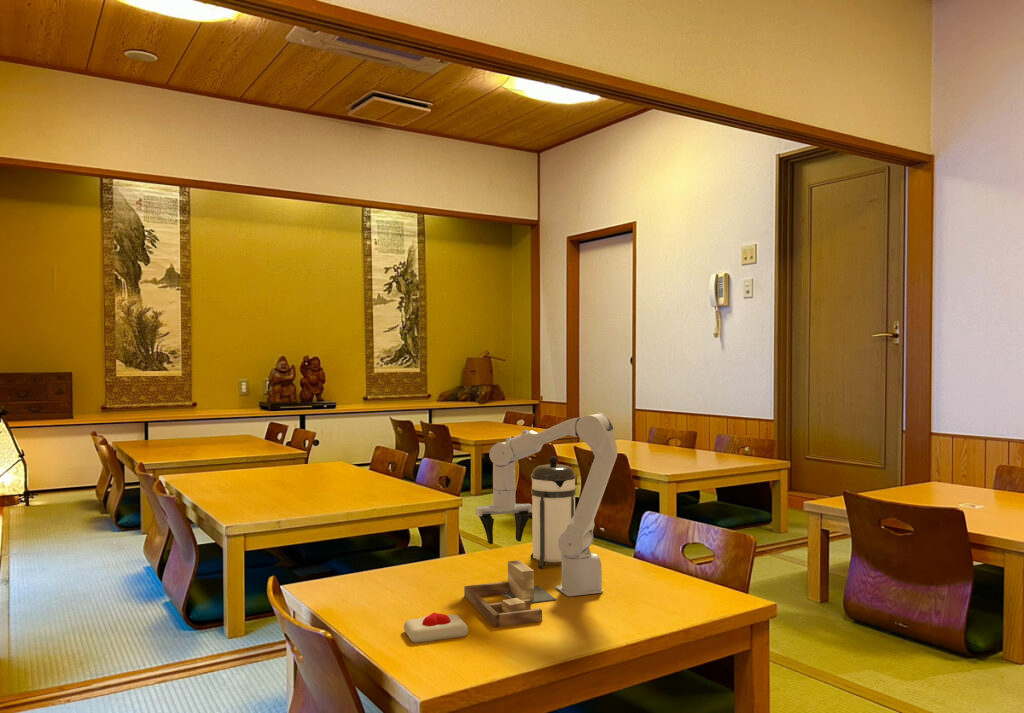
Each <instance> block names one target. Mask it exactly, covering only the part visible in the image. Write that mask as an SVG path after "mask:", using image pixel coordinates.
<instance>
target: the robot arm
mask: <svg viewBox="0 0 1024 713" xmlns="http://www.w3.org/2000/svg"><path fill="white" fill-rule="evenodd" d="M567 436H570V437H574V438H576V437H577V438H578V437H579V438H580V439H581V440H582V441H583V442H585V444H586V445H588V447H589V448H590V450H591V452H592V454H593V455H594V459H593V462H592V464H591V467H590V469H589V472H588V475H587V478H586V481H585V484H584V486H583V489H582V492H581V495H580V496H579V501H578V502H577V505H576V507H575V514H574V516H573V518H572V519H571V521H570V522H569V524H568V526H567V529H566V531H565V532H564V533H563V534H561V536H560V537H559V541H558V546H559V549H560V551H561V552H562V562H561V584H560V585H556V586H555V589H556V590H558V591H560V592H561V593H562V594H564V595H565V596H567V597H577V596H578V597H579V596H585V595H593V594H602V593H603V592H604V590H603V587H602V586H603V585H602V583H603V581H602V578H603V577H602V576H603V575H602V571H603V570H602V561H601V558H600V556H599V555H598V554H597V553H593V552H592V551H591V550H590V547H591V546H592V544H593V542H594V528H595V517H596V516H597V512H598V510H599V507H600V505H601V502H602V499H603V497H604V493H605V491H606V487H607V485H608V483H609V480H610V476H611V473H612V471H613V468H614V466H615V463H616V460H617V458H618V452H619V451H618V446H617V442H616V441H617V440H616V437H615V426H614V424H613V423H612V420H610V418H609V417H608V416H607V415H606V414H605V413H602V412H595V413H593V414H587V415H585V414H584V415H583V416H579V417H575V418H574V417H573V418H570V419H567V420H564V421H562V422H559V423H558V424H555V425H553V426H551V427H549V428H546V429H544V430H542V431H540V432H537V431H535V430H528V429H525V430H522V431H521V434H518V435H516V436H514V437H511V436H510V437H507V438H505V441H502V442H496V443H495V444H493V446H491V448H490V450H489V453H488V454H489V459H490V461H491V462H492V489H493V490H492V504H491V505H486V506H477V507H476V508H475V513H476V516H477V517H479V519H480V521H481V523H482V525H483V526H482V527H483V528H484V531H485V532H484V533H485V534H486V539H487V543H488V544H489V545H494V533H493V532H494V522H495V518H493V516H494V515H506V514H507V515H508V514H514V519H515V541H517V542H518V543H520V542H522V537H523V535H524V534H523V533H524V531H525V527H526V525H527V523H528V521H529V519H530V516H531V515H530V513H532V504H531V503H516V461H520V460H521V459H524V458H526V457H527V458H528V457H529V456H532V455H534V454H537V453H539V452H540V451H541V450H542V447H543V446H544V444H548V443H550V442H552V441H555V440H558V439H561V438H564V437H567ZM492 515H493V516H492ZM591 552H592V553H591Z"/></svg>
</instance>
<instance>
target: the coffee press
mask: <svg viewBox="0 0 1024 713" xmlns="http://www.w3.org/2000/svg"><path fill="white" fill-rule="evenodd" d="M557 463H558V458H557V457H556V456H555V455H554V456H550V458H549V464H542V465H537V466H536V467H534V469H533V470H532V473H531V474H530V478H531V491H530V492H531V494H530V495H532V496H531V499H532V500H531V501H532V504H531V505H532V512H531V513H532V514H531V515H532V518H531V519H532V520H531V521H532V524H531V527H532V538H531V539H532V553H531V555H530V557H529V558H530V559H531V560H532V561H534V560H538V564H537V568H538V569H545V567H546V565H547V564H548V563H562V552H561V551H560V549H559V546H558V541H559V537H560V536H561V534H563V533H564V532H565V531H566V529H567V526H568V524H569V522H570V521H571V519H572V518H573V516H574V514H575V511H576V495H577V494H576V493H577V492H576V491H577V490H576V489H577V488H576V478H577V474H576V473H575V470H574V468H572V467H570V466H568V465H565V464H557Z"/></svg>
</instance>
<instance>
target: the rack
mask: <svg viewBox="0 0 1024 713" xmlns="http://www.w3.org/2000/svg"><path fill="white" fill-rule="evenodd" d="M463 588H464V589H463V591H464V592H463V593H464V594H463V595H464V596H463V597H464V598H465V599H466V600H467V601H468V602H469V603H470V604H471V605H472V606H473V607H474V608H475V609H476V610H477V611H478V612H479V613H480V614H481V615H482V616H483V617H484V619H486V621H487V622H489V624H490V625H491V626H492V627H493V628H499V627H508V626H516V625H524V624H530V623H531V624H532V623H537V622H538V623H540V622H543V609H542V608H533V609H532V606H531V605H532V603H531V600H529V599H526V600H522V601H524V602H525V610H523V611H515V612H506V613H502V601H501V602H493V603H488V602H487V601H486V600H485V599H484V598H483V596H493V595H502V594H508V593H507V592H509V583H508V581H500V582H491V583H490V582H489V583H481V584H473V585H472V584H471V585H464V587H463Z"/></svg>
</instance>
